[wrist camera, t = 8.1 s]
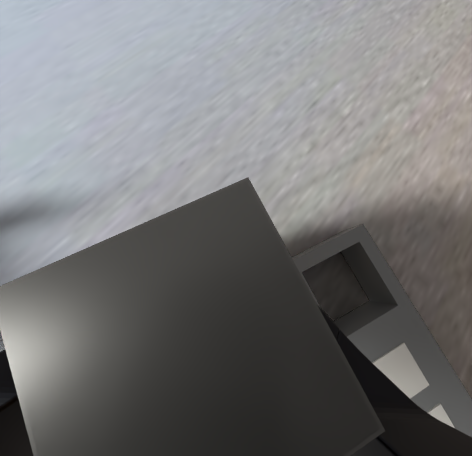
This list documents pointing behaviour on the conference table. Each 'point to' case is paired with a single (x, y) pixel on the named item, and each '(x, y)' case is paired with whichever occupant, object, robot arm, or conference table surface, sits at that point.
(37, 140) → the conference table surface
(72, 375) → the plug
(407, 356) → the power strip
